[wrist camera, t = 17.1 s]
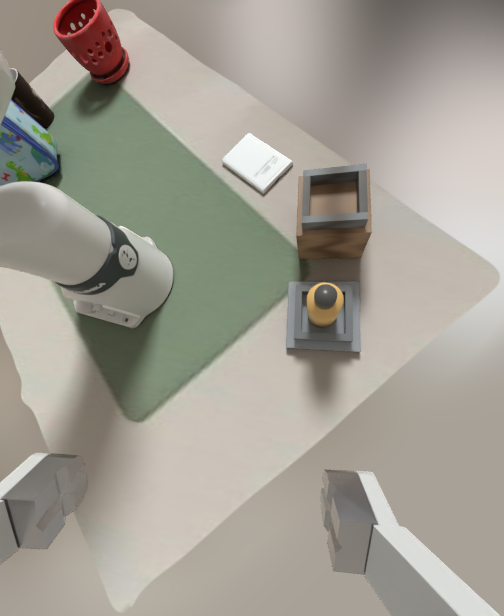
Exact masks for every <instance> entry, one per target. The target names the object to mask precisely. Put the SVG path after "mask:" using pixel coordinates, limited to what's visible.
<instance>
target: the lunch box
mask: <svg viewBox="0 0 504 616" xmlns="http://www.w3.org/2000/svg"><path fill="white" fill-rule="evenodd" d="M58 169H59V163H58V161H57V143H56V141H55V139H54V138H53V137H52V136H51V135H50V134H49V133H48V132H47V131H46V130H45V129H44V128H43V127H42V126H41V125H40V124H39V123H38V122H37V121H35V120H34V119H33V118H32V117H31V116H30V115H29V114H27V113H26V112H25V111H24V110H23V109H22V108H20V107H19V106H18V105H17V104H16V103H15V102H13V101H12V100H11V101H10V104H9V106H8V109H7V112H6V114H5V116H4V118H3V121H2V123H1V125H0V186H2V185H5V184H9V183H13V182H22V181H29V182H38V181H40V180H42V179H44V178H46V177H48V176H50V175H51V174H53V173H55V172H56V171H57V170H58Z"/></svg>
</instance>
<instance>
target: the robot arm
mask: <svg viewBox="0 0 504 616" xmlns="http://www.w3.org/2000/svg"><path fill="white" fill-rule="evenodd" d="M14 90H15V83H14V80H13V76H12V74H11V71H10V68H9V66H8V63H7V61H6V59H5V57H4V55H3V53H2V52H1V50H0V125H1V123H2V121H3V118H4V116H5V114H6V112H7V109H8V106H9V104H10V101H11V98H12V95H13V92H14ZM0 267H5V268H10V269H14V270H18V271H21V272H25V273H29V274H32V275H36V276H39V277H43V278H46V279H49V280H52V281H55V282H56V283H57V284H58V285H60V286H61V289H62V293H63V295H64V296H65V297H66V298H68V299H71V300H74V306H75V310H76V312H78V313H81V314H84V315H87V316H91V317H94V318H98V319H101V320H105V321H108V322H112V323H115V324H119V325H122V326H126V327H129V328H136V327H137V326H138V325H139V324H140V323H141V322H142V320H143V319H144V318H145V317H146V316H147V315H148V314H150V313H151V312H153V311H154V310H156V309H157V308H158V307H159V306H160V305H161V304H162V303H163V302H164V301H165V299H166V298H167V296H168V294H169V292H170V290H171V287H172V283H173V268H172V265H171V262H170V260H169V259H168V257H167V256H166V255H165V254H164V253H162V252H161V251H160V250H158V249H157V247H156V245H155V243H154V241H153V240H152V239H151V238H149V237H143V238H141V237H140V236H138V235H137V234H135V233H133V232H132V231H130V230H128V229H127V228H125V227H123V226H120V227H117V226H116V225H115V224H113V223H112V222H110V221H108V220H106V219H105V218H103V217H101V216H97V215H94V214H93V213H92V212H90V211H89V210H87V209H86V208H84V207H83V206H82V205H80V204H79V203H77V202H76V201H75V200H73V199H72V198H70V197H69V196H68V195H66V194H65V193H63V192H62V191H60V190H59V189H57V188H55V187H53V186H51V185H48V184H44V183H40V182H29V181H22V182H13V183H9V184H5V185H2V186H0ZM127 320H128V322H127ZM84 465H85V464H84V460H83V457H81V456H75V455H63V454H52V453H51V454H49V453H36V454H33V455H31V456H30V457H29V458H28V459H26V460H25V461H24V462H23V463H22V464H21V465H20V466H19V467H18V468H17V469H15V470H14V471H13V472H12V473H11V474H9V475H8V476H7V477H6V478H5V479H4V480H3V481H2V482H0V564H2V563H3V562H4V561H5V560H7V559H8V558H9V557H10V556H12V555H13V554H14V553H15V552H17V551H18V548H30V549H48V547H49V545H50V544H51V543H52V541H53V540H54V539H55V537H56V536H57V534H58V533H59V532H60V530H61V529H62V528H63V526H64V525H65V519H66V516H67V515H69V514H70V513H71V512H73V511H74V510H76V508H77V507H78V506H79V504H80V503H81V501H82V500H83V497H84V495H85V492H86V490H87V484H88V480H87V475H86V474H85V473H84V472H83V471H82V468H83V467H84ZM322 480H323V485H324V488H322V490H321V498H320V499H321V513H322V519H323V524H324V527H325V528H326V530H327V531H328V532H329V533H328V542H327V544H328V548H329V553H330V557H331V562H332V567H333V571H336V572H346V573H354V574H363V575H365V578H366V580H367V581H368V582H369V584H370V585H371V587H372V588H373V589H374V591H375V593H376V594H377V595H378V597H379V598H380V600H381V601H382V603H383V604H384V606H385V607H386V609H387V610H388V611H389V613H390V614H391V616H499V614H498V613H497V612H495V611H494V610H493V609H492V608H491V607H490V606H489V605H488V604H487V603H486V602H485V601H484V600H483V599H481V598H480V597H479V596H478V595H477V594H476V593H475V592H474V591H473V590H472V589H471V588H470V587H469V586H467V585H466V584H465V583H464V582H463V581H462V580H461V579H460V578H459V577H458V576H457V575H456V574H454V572H452V571H451V570H450V569H449V568H448V567H447V566H446V565H445V564H444V563H443V562H442V561H441V560H440V559H438V557H436V556H435V555H434V554H433V553H432V552H431V551H430V550H429V549H428V548H427V547H426V546H425V545H424V544H422V543H421V542H420V541H419V540H418V539H417V538H416V537H415V536H414V535H413V534H411V532H410V531H409V530H407V529H406V528H405V527H400V526H399V525H398V523H397V521H396V519H395V516H394V514H393V512H392V510H391V508H390V506H389V504H388V502H387V500H386V498H385V496H384V494H383V492H382V490H381V487H380V485H379V483H378V481H377V479H376V477H375V475H374V474H373V473H372V472H366V471H346V470H324V471H323V476H322Z"/></svg>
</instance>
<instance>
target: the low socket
mask: <svg viewBox="0 0 504 616" xmlns="http://www.w3.org/2000/svg"><path fill="white" fill-rule="evenodd" d="M319 283H331V284H334V285H335V286H337V287H338V288H339V289H340V290H341V292H342V294H343V298H344V302H343V306H342V308H341V310H340V312H339V314H338V316H337V318H336V320H335V322H334V323H333V324H332V325H331V326H329V327H327V328H318V327H316V326H314V325H313V324H312V323H311V322H310V321H309V318H308V310H307V295H308V292H309V291H310V289H311V288H312V287H313V286H315V285H317V284H319ZM286 348H295V349H313V350H330V351H347V352H361V346H360V300H359V281H322V282H289V292H288V315H287V338H286Z"/></svg>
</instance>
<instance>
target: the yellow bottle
mask: <svg viewBox="0 0 504 616" xmlns="http://www.w3.org/2000/svg"><path fill="white" fill-rule="evenodd" d="M343 302H344V298H343V294H342V292H341V290H340V289H339V288H338V287H337V286H335V285H334V284H331V283H319V284H317V285H315V286H313V287H312V288H311V289H310V291H309V292H308V295H307V310H308V318H309V321H310V322H311V323H312V324H313V325H314V326H316V327H318V328H327V327H329V326H331V325H332V324H333V323H334V322H335V320H336V318H337V316H338V314H339V312H340V310H341V308H342V306H343Z"/></svg>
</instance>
